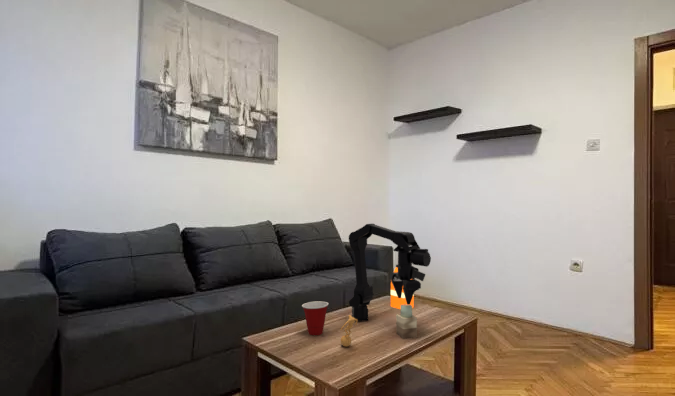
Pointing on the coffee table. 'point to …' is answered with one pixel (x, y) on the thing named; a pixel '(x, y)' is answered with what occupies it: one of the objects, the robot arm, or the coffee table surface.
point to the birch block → (406, 322)
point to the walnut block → (406, 332)
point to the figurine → (346, 339)
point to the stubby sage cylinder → (406, 310)
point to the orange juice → (397, 301)
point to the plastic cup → (315, 316)
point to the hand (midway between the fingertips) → (403, 301)
